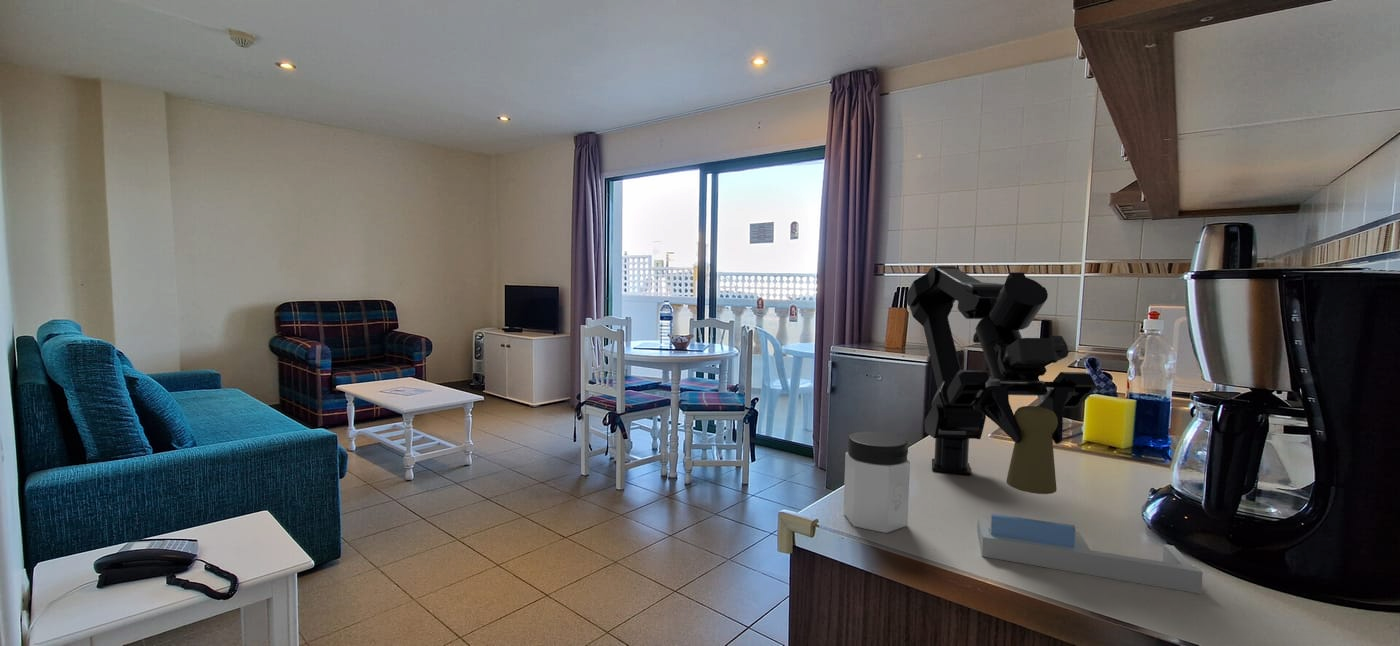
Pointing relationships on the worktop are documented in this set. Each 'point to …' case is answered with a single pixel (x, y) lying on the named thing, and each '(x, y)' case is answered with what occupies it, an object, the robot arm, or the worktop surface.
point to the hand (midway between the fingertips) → (1039, 442)
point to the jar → (876, 481)
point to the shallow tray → (1080, 553)
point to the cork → (1034, 451)
